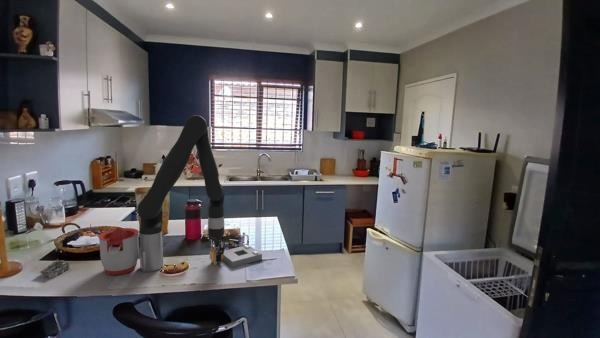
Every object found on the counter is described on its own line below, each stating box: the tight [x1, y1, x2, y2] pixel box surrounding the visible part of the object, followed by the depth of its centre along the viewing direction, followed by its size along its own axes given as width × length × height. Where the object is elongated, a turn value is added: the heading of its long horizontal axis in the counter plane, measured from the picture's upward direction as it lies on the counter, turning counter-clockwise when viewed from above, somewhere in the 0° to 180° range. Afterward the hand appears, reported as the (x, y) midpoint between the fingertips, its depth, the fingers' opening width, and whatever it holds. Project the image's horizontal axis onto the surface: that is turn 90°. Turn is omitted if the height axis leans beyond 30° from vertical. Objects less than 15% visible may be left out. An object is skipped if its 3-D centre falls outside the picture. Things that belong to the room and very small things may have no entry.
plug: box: [209, 249, 223, 266], centre depth 153 cm, size 5×4×7 cm
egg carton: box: [39, 258, 71, 279], centre depth 140 cm, size 11×8×4 cm
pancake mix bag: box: [134, 186, 171, 235], centre depth 189 cm, size 7×19×28 cm, turn 104°
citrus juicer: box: [98, 226, 140, 276], centre depth 142 cm, size 16×17×20 cm
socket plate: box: [222, 244, 263, 269], centre depth 159 cm, size 16×14×4 cm
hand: (216, 259), depth 154 cm, fingers closed on plug, 4 cm apart
